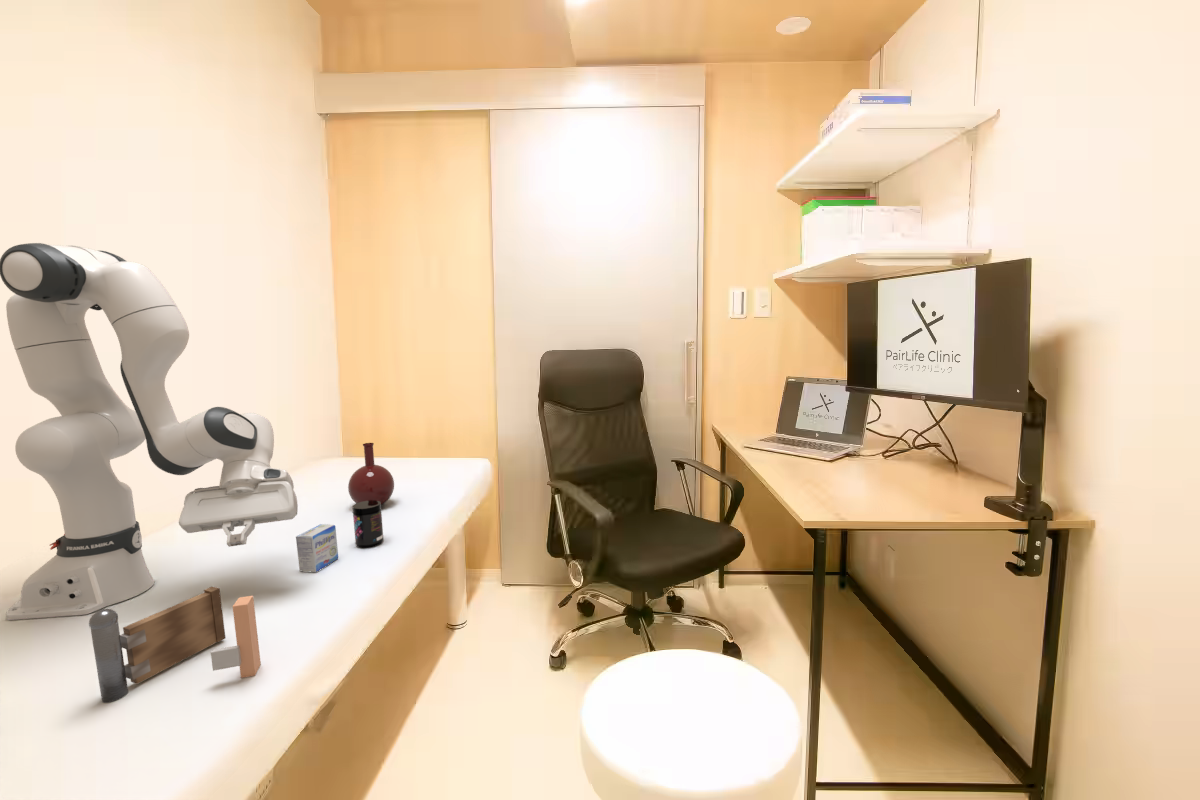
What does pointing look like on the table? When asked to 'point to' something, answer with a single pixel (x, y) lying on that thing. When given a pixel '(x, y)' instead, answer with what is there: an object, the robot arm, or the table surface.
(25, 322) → the robot arm
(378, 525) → the supplement container
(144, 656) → the gate
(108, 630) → the hinge post
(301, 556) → the medicine box
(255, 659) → the latch post
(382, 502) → the round-bottom flask
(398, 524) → the table surface
